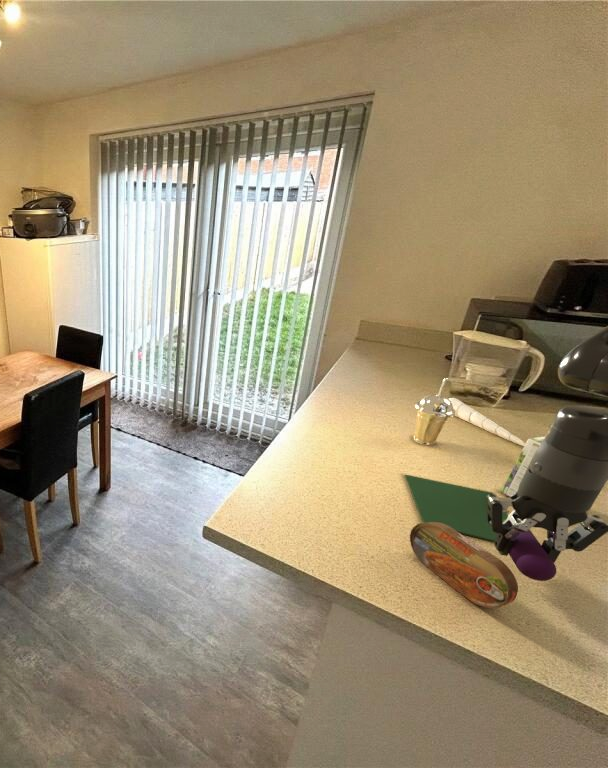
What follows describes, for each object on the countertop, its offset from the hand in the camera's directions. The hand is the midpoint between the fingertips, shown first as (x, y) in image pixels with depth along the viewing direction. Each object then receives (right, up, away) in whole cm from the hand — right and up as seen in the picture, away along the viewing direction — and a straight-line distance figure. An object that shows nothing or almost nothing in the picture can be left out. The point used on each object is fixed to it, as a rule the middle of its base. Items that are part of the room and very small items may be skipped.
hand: (520, 556), depth 66 cm
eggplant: (0, -1, 0) cm, 1 cm away
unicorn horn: (+42, +16, +49) cm, 67 cm away
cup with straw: (+19, +13, +42) cm, 48 cm away
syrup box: (+23, +4, +20) cm, 31 cm away
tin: (-10, -5, +2) cm, 12 cm away
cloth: (+6, +2, +18) cm, 19 cm away
